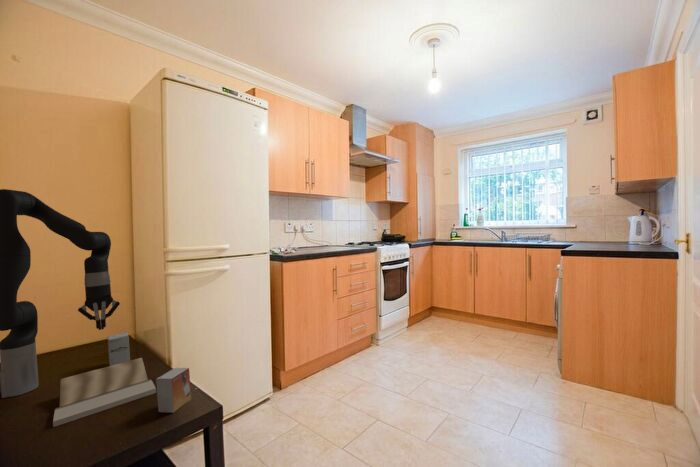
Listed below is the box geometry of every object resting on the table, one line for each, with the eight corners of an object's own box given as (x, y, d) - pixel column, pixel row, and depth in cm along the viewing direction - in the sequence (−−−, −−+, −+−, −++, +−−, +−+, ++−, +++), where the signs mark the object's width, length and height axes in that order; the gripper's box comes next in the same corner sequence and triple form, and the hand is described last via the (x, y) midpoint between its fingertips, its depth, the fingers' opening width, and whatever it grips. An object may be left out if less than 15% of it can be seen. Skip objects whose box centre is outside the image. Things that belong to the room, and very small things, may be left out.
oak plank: (60, 410, 100) (59, 406, 100) (61, 382, 110) (60, 379, 110) (148, 383, 116) (147, 379, 115) (142, 360, 126) (141, 357, 125)
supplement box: (109, 369, 132) (107, 339, 132) (109, 364, 138) (107, 335, 138) (130, 363, 137) (128, 335, 137) (129, 359, 142) (127, 331, 142)
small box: (173, 413, 94) (171, 379, 94) (157, 412, 96) (155, 378, 95) (192, 399, 102) (189, 367, 102) (177, 398, 103) (175, 367, 103)
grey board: (53, 427, 91) (52, 421, 91) (55, 413, 99) (55, 408, 99) (156, 392, 108) (155, 388, 108) (151, 383, 116) (151, 379, 116)
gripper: (118, 280, 126) (121, 323, 126) (74, 286, 117) (78, 331, 117) (120, 282, 120) (123, 326, 120) (74, 287, 111) (78, 336, 111)
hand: (101, 329), depth 119 cm, fingers closed
